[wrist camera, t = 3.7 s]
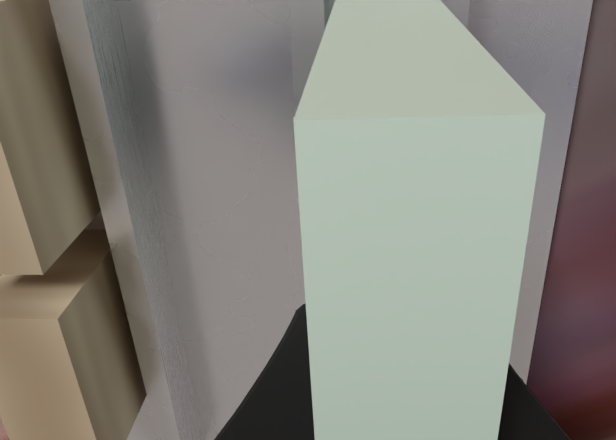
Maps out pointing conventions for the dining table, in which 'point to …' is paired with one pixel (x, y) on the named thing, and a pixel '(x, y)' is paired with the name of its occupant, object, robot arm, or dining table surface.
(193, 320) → the slot rack
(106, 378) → the oak offcut
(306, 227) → the sage panel
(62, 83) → the oak offcut
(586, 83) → the dining table surface
